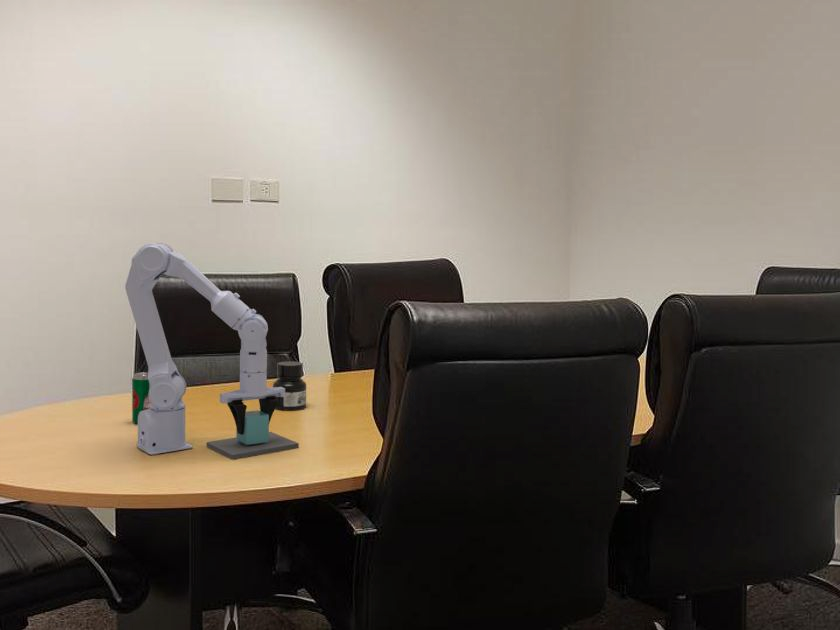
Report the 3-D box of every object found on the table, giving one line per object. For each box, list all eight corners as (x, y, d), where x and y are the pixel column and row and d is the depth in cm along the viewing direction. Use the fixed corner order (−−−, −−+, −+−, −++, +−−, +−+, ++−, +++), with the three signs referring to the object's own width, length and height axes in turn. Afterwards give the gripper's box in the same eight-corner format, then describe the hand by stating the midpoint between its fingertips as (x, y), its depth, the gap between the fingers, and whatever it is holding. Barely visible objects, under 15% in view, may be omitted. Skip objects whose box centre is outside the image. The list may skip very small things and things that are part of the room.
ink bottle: (289, 413, 205) (290, 367, 204) (264, 408, 209) (265, 363, 208) (313, 406, 213) (314, 363, 212) (288, 402, 218) (289, 359, 216)
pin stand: (232, 459, 162) (232, 429, 161) (206, 446, 171) (206, 417, 170) (298, 447, 173) (298, 418, 172) (270, 435, 182) (271, 408, 181)
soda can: (147, 425, 187) (146, 376, 186) (128, 424, 188) (127, 375, 187) (158, 420, 192) (158, 372, 191) (139, 419, 193) (139, 371, 192)
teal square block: (246, 444, 168) (246, 417, 167) (236, 439, 172) (236, 412, 172) (268, 441, 171) (268, 414, 171) (258, 436, 175) (258, 410, 175)
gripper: (275, 365, 178) (274, 424, 179) (214, 370, 169) (214, 432, 170) (289, 370, 172) (289, 430, 173) (227, 376, 163) (227, 439, 165)
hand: (252, 432), depth 171 cm, fingers closed on teal square block, 5 cm apart
